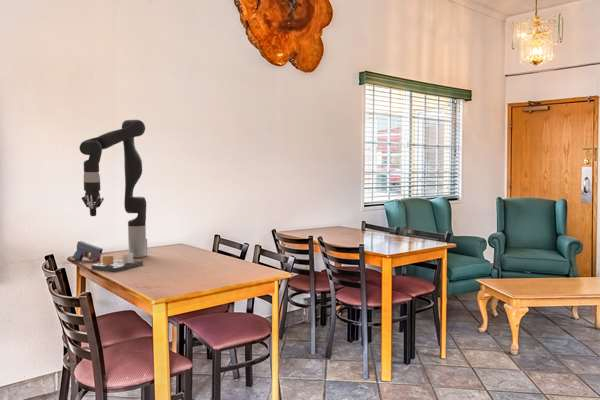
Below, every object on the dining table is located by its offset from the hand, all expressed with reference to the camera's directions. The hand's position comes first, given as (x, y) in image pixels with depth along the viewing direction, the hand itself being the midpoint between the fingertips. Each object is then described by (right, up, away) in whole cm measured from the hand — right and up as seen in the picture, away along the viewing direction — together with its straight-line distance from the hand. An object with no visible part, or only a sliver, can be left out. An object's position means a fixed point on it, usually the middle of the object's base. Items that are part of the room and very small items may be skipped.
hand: (93, 216), depth 240 cm
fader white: (+18, -23, -1) cm, 29 cm away
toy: (-10, -25, +17) cm, 31 cm away
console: (+12, -25, 0) cm, 28 cm away
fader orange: (+10, -23, -6) cm, 26 cm away
